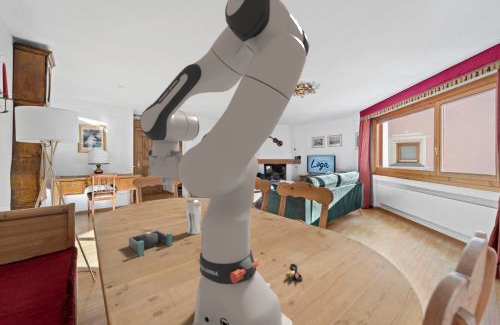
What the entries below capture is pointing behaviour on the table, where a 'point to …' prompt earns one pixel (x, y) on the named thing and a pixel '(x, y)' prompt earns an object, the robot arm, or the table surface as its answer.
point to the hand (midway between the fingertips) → (167, 189)
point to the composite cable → (294, 273)
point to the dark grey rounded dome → (149, 240)
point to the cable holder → (139, 245)
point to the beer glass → (193, 216)
